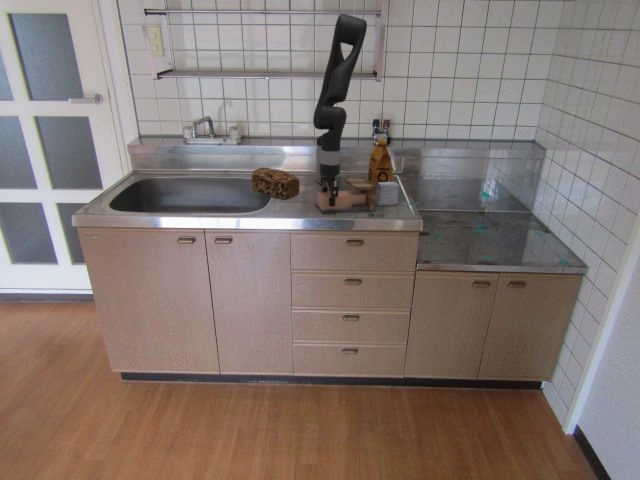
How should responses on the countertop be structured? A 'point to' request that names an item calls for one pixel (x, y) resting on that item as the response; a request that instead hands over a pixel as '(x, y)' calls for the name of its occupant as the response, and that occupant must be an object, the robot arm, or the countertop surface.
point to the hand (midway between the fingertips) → (328, 202)
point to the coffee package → (380, 164)
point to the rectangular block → (342, 199)
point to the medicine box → (387, 193)
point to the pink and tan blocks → (357, 184)
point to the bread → (275, 183)
